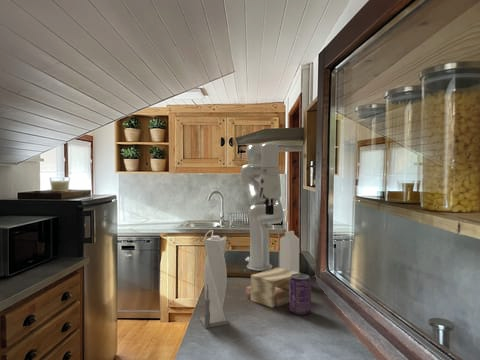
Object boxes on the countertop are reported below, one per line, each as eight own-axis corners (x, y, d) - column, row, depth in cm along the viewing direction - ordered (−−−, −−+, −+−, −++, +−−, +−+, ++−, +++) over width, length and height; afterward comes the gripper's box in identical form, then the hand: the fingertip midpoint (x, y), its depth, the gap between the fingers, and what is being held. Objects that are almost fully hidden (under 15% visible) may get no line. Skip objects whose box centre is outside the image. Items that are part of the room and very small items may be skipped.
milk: (299, 282, 147) (299, 231, 147) (290, 285, 143) (290, 232, 142) (288, 279, 151) (288, 229, 151) (279, 282, 147) (279, 231, 147)
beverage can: (297, 306, 119) (297, 271, 119) (315, 311, 114) (315, 276, 114) (285, 311, 114) (285, 275, 114) (302, 317, 109) (302, 280, 109)
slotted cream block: (245, 298, 127) (245, 273, 127) (271, 288, 138) (271, 266, 138) (274, 308, 117) (274, 281, 117) (300, 297, 128) (300, 272, 128)
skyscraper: (198, 317, 109) (198, 230, 109) (222, 313, 112) (222, 228, 112) (205, 328, 102) (205, 234, 101) (230, 323, 105) (231, 232, 104)
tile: (246, 295, 132) (246, 287, 132) (257, 290, 137) (257, 283, 137) (279, 305, 121) (279, 297, 121) (290, 300, 126) (290, 292, 126)
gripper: (265, 171, 140) (264, 216, 140) (287, 172, 151) (286, 213, 151) (251, 172, 145) (251, 215, 145) (273, 172, 156) (273, 212, 156)
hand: (269, 214), depth 148 cm, fingers closed
